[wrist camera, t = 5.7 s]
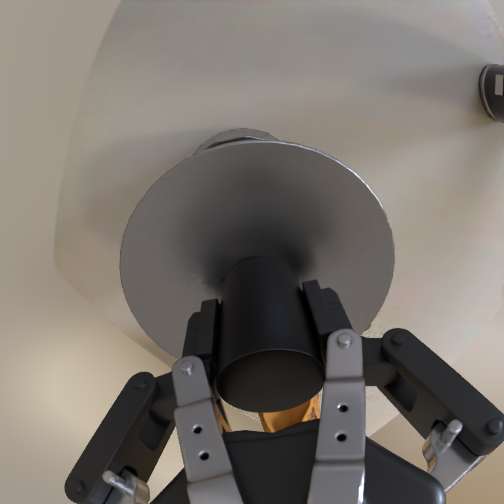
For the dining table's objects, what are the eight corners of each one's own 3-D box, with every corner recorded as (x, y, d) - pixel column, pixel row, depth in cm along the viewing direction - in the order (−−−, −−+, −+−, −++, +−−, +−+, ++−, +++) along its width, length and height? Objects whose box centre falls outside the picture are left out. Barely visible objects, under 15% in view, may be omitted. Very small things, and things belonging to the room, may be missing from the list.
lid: (380, 118, 12) (482, 145, 6) (379, 340, 19) (416, 421, 13) (88, 182, 13) (0, 247, 7) (178, 376, 20) (166, 463, 14)
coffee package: (308, 322, 44) (342, 453, 25) (309, 370, 50) (333, 480, 31) (243, 332, 45) (250, 468, 25) (254, 379, 51) (263, 491, 31)
